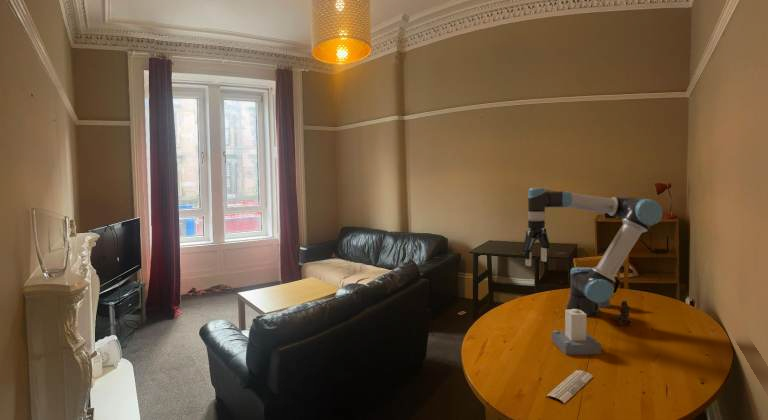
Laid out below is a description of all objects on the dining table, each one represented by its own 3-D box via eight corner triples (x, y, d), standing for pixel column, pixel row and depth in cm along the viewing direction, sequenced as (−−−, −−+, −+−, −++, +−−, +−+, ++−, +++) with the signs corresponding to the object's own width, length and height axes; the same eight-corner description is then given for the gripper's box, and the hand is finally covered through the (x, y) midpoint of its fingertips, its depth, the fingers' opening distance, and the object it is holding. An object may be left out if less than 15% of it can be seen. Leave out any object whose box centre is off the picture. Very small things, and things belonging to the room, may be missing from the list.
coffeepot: (586, 306, 218) (587, 273, 216) (587, 300, 226) (587, 269, 225) (619, 309, 211) (620, 275, 209) (619, 304, 219) (619, 271, 218)
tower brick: (579, 334, 172) (579, 307, 171) (586, 340, 166) (586, 312, 165) (565, 334, 172) (565, 307, 171) (571, 340, 166) (571, 312, 165)
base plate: (584, 339, 176) (584, 329, 175) (600, 354, 162) (601, 343, 161) (552, 340, 176) (552, 330, 176) (565, 354, 162) (565, 343, 162)
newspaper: (575, 373, 149) (575, 368, 149) (596, 380, 144) (596, 375, 144) (546, 398, 133) (546, 393, 133) (567, 407, 128) (567, 402, 128)
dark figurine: (629, 329, 186) (630, 302, 185) (606, 323, 193) (606, 298, 192) (639, 320, 196) (639, 295, 195) (616, 315, 203) (616, 291, 202)
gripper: (543, 217, 205) (542, 258, 207) (514, 221, 190) (514, 266, 192) (557, 218, 199) (557, 260, 201) (528, 223, 184) (528, 269, 186)
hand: (536, 263), depth 196 cm, fingers open, 13 cm apart
